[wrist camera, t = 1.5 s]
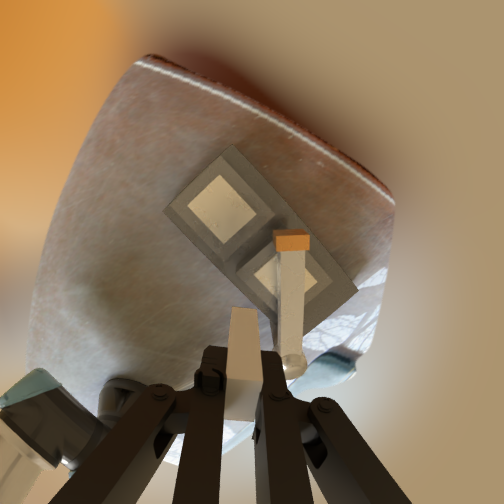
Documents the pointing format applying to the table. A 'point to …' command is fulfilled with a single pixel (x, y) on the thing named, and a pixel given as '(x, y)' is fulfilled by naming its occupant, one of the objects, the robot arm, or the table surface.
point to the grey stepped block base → (254, 238)
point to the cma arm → (291, 298)
